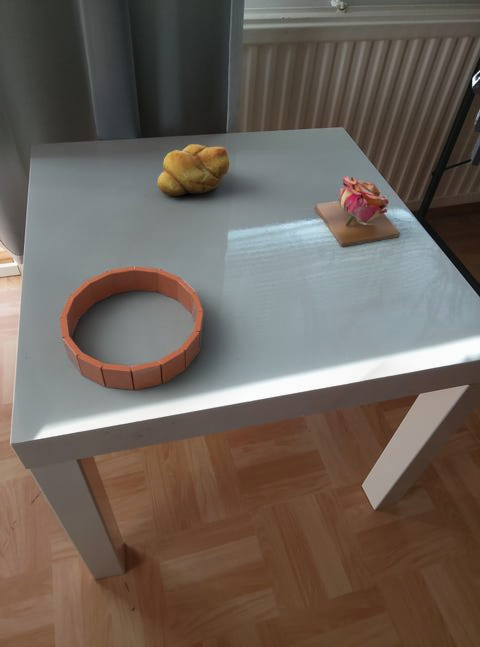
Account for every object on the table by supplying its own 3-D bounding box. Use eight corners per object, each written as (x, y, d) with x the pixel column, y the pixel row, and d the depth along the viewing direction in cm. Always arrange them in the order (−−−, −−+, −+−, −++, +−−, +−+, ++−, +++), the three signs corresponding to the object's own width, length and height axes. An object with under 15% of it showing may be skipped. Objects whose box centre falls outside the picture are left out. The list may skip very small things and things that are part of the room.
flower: (367, 240, 81) (396, 196, 78) (318, 210, 82) (346, 166, 80) (370, 238, 90) (396, 199, 87) (326, 211, 91) (351, 171, 89)
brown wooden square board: (398, 237, 86) (400, 233, 85) (341, 247, 83) (342, 243, 83) (368, 199, 93) (369, 196, 92) (314, 208, 90) (315, 204, 89)
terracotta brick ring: (228, 343, 68) (230, 324, 65) (112, 414, 60) (107, 396, 57) (153, 270, 77) (152, 250, 74) (42, 323, 68) (35, 303, 65)
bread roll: (166, 207, 87) (164, 166, 81) (147, 178, 93) (144, 137, 87) (233, 192, 92) (235, 151, 86) (211, 164, 97) (212, 125, 91)
